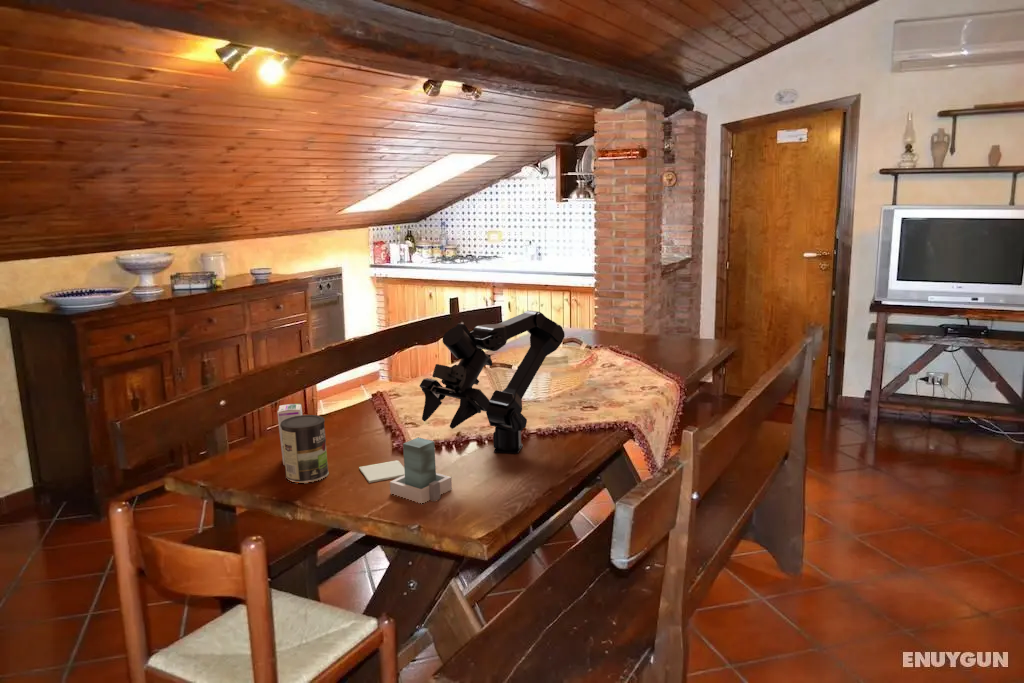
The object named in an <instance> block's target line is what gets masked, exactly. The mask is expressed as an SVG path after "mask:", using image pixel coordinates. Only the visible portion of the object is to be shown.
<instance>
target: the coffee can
mask: <svg viewBox="0 0 1024 683" xmlns="http://www.w3.org/2000/svg"><path fill="white" fill-rule="evenodd" d="M325 422H326V421H325V418H324V417H323V416H321V415H317V414H302V415H301V416H294V417H291V418H288V419H285V420H283V421H282V422H281V424H280V425H281V428H282V439H283V449H284V460H285V465H284V467H285V479H286V478H287V479H288V480H290V481H292V482H299V483H304V484H309V483H308V482H312V483H315V482H314V481H317V482H319V481H322V480H324V479H326V478H327V477H328V476H329V474H330V473H329V464H328V452H327V444H326V443H327V442H326V441H327V439H326V430H325V429H326V428H325V427H326V426H325V425H326V424H325ZM325 477H326V478H325ZM323 478H324V479H323ZM321 479H322V480H321ZM318 480H319V481H318Z"/></svg>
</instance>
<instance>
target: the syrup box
mask: <svg viewBox="0 0 1024 683" xmlns="http://www.w3.org/2000/svg"><path fill="white" fill-rule="evenodd" d="M302 408H303V405H302V403H288V404H282V405H281V404H280V405H279V406H278V409H277V421H278V432H279V440H280V450H281V457H282V464H283V466H285V460H284V449H283V439H282V428H281V425H280V424H281V422H282V421H283V420H285V419H288V418H291V417H294V416H301V415H303V409H302Z"/></svg>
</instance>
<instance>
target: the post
mask: <svg viewBox="0 0 1024 683" xmlns="http://www.w3.org/2000/svg"><path fill="white" fill-rule="evenodd" d="M435 446H436V445H435V441H434V440H431V439H426V438H422V437H416V438H413V439H411V440H408V441H406V442H404V443H402V447H403V448H402V449H403V463H404V464H403V467H404V469H405V484H406V485H409V486H413V487H416V488H419V489H423V488H425V487H427V486H429V483H432V482H434V481H436V473H437V471H436V469H437V468H436V450H435Z"/></svg>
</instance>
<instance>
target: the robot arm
mask: <svg viewBox="0 0 1024 683" xmlns="http://www.w3.org/2000/svg"><path fill="white" fill-rule="evenodd" d="M525 332H528V334H529V335H530V337H529V345H530V346H529V348H528V350H527V351H526V354H525V355H524V357H523V359H522V360H521V362H520V364H519V365H518V367H517V369H516V371H515V372H514V373H513V375H512V377H511V379H510V380H509V383H508V384H507V386H506V387H505V389H503V390H502V391H501V390H498V389H496V390H494V392H493V393H492V395H491V397H490V398H488V396H487V395H486V394H485V393H484V392H483V391H482V390H481V389H479V388H474V387H473V386H475V385H476V386H477V385H478V384H479V383H480V380H479V379H478V377H480V376H479V375H480V374H481V372H482V371H483V369H484V367H485V366H489V367H492V366H493V360H492V359H491V358H492V354H489V353H488V354H487V352H486V351H491V352H497V351H498V350H499V351H500V349H501V348H503V347H504V346H506V344H507V342H508V340H510V339H511V338H514V337H516V336H518V335H521V334H523V333H525ZM565 335H566V334H565V331H564V329H563V327H562V326H561V325H560V324H558V323H557V322H555V321H554V320H551V319H550V318H548V317H547V316H546V315H544V314H543V313H542V312H540V311H536V310H525V311H523V312H522V313H520V314H517V315H516V316H513V317H512V318H511V317H510V318H508V319H506V320H504V321H502V322H499V323H492V324H491V323H490V324H489V323H488V324H481V325H476V326H475V327H473V329H472V331H469V329H468V327H467V326H466V324H465V323H457V324H456V326H454V327H452V328H450V329H449V330H447V331H445V333H444V334H443V336H442V343H443V345H444V346H445V347H446V348H447V349H448V350H449V352H450V353H451V354H452V355H453V356H454V357H455V358H456V359H457V360H459V362H458V364H454V365H452V366H449V365H443V364H440V363H439V364H438V363H436V364H435V366H434V368H433V372H432V375H431V376H432V378H437V380H436V379H432V378H423V379H422V381H421V383H419V388H421V392H423V394H424V397H425V398H424V406H423V412H422V415H421V416H422V417H421V420H422V421H423V422H427V420H429V418H431V416H433V414H434V413H435V412H436V410H437V409H439V407H440V406H441V405H442V404H443V402H442V400H444V399H445V398H446V397H449V398H454V399H458V400H459V406H458V408H457V410H456V412H455V414H454V416H453V417H452V420H451V421H450V424H449V428H450V429H452V430H453V429H455V428H456V427H457V426H459V425H461V424H462V423H464V422H465V421H467V420H468V419H469V418H471V417H473V416H475V415H476V414H481V413H482V412H485V413H486V417H487V419H488V423H489V426H490V427H495V428H494V431H493V433H492V434H493V435H492V439H493V448H494V449H493V450H494V452H493V453H498V454H499V453H503V454H519V452H520V451H521V449H522V448H523V446H524V444H523V443H522V431H523V430H524V429H525V428H527V423H528V419H527V417H525V416H524V415H523V414H522V410H523V400H522V399H523V397H524V396H525V394H526V392H527V390H528V389H529V387H530V385H531V384H532V382H533V379H534V378H535V377H536V375H537V374H538V371H539V370H540V368H541V366H542V365H543V362H544V361H545V359H546V358H547V356H549V355H551V354H552V353H554V352H555V351H557V350H558V348H559V347H560V346H561V345H562V343H563V341H564V339H565ZM484 350H485V351H484ZM438 379H440V380H441V381H440V382H441V383H440V382H439V381H438ZM443 385H445V386H443Z"/></svg>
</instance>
